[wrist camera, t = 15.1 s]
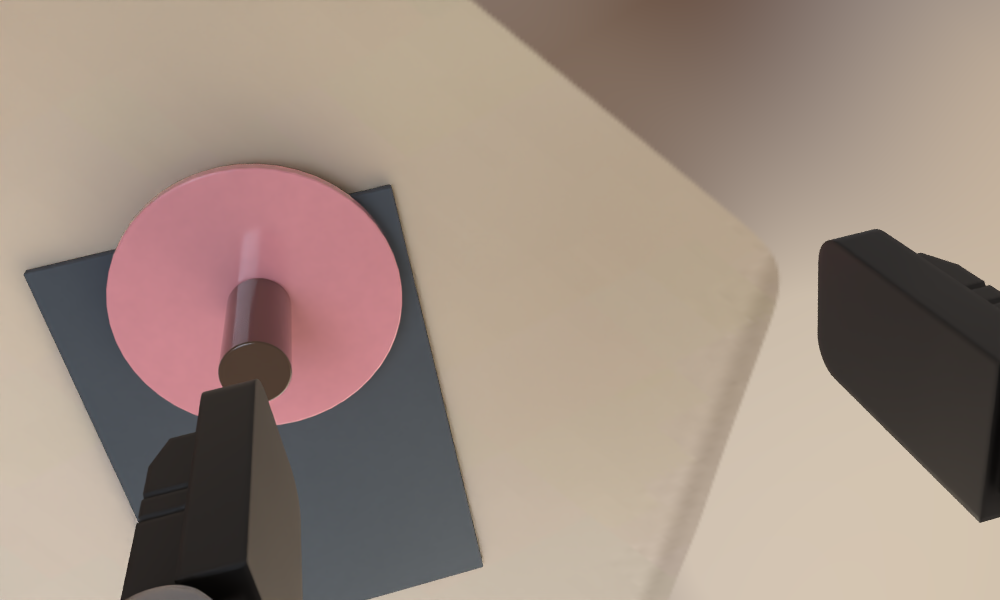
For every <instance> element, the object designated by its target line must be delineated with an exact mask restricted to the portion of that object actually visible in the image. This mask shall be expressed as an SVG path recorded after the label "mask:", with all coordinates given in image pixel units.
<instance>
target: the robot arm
mask: <svg viewBox="0 0 1000 600" xmlns="http://www.w3.org/2000/svg"><path fill="white" fill-rule="evenodd" d="M818 343H819V348H820V352H821V355H822V358H823V360H824V363H825V365H826V367H827V369H828V371H829V372H830V373H831V375H832V376H833V377H834V378H835V379H836V380H837V381H838V382H839V383H840V384H841V385H842V386H843V387H844V388H845V389H846V390H847V391H848V392H849V393H850V394H851V395H852V396H853V397H854V398H855V399H856V400H857V401H858V402H859V403H860V404H861V405H862V406H863V407H864V408H865V409H866V410H867V411H868V412H869V413H870V414H871V415H872V416H873V417H874V418H875V419H876V420H877V421H878V422H879V423H880V424H881V425H882V426H883V427H884V428H885V429H886V430H887V431H888V432H889V433H890V434H891V435H892V436H893V437H894V438H895V439H896V440H897V441H898V442H899V443H900V444H901V445H902V446H903V447H904V448H905V449H906V450H907V451H908V452H909V453H910V454H911V455H912V456H913V457H914V458H915V459H916V460H917V461H918V462H919V463H920V464H921V465H922V466H923V467H924V468H925V469H926V470H927V471H928V472H930V474H932V476H933V477H934V478H935V479H936V480H937V481H938V482H939V483H940V484H941V485H942V486H943V487H944V488H946V490H947V491H949V492H950V493H951V495H953V497H955V499H957V500H958V501H959V502H960V503H961V504H962V505H963V506H964V507H965V508H966V509H967V510H968V511H969V512H970V513H971V514H972V515H973V516H974V517H975V518H976V519H977V520H978V521H979V522H980V523H981V522H984V521H988V520H991V519H995V518H998V517H1000V291H998V290H997V289H995V288H994V287H992V286H990V285H988V286H986V285H985V283H984V281H983V280H981V279H980V278H978V277H976V276H975V275H973V274H972V273H970V272H968V271H967V270H966V269H964V268H962V267H961V266H959V265H958V264H954V263H951V262H948V261H945V260H942V259H939V258H936V257H933V256H930V255H926V254H923V253H918V254H917V253H915V252H914V251H912V250H911V249H909V248H908V247H906V246H905V245H903V244H902V243H900V242H899V241H897V240H896V239H894V238H893V237H891V236H890V235H888V234H887V233H885V232H884V231H882V230H878V229H874V230H869V231H865V232H861V233H857V234H853V235H849V236H845V237H841V238H837V239H833V240H829V241H826V242H825V243H824V244H823V245H822V247H821V249H820V253H819V262H818ZM143 497H144V499H143V500H141V505H140V510H139V515H138V519H139V523H137V524H136V529H135V534H134V539H133V543H132V548H131V553H130V558H129V562H128V567H127V572H126V577H125V581H124V586H123V591H122V596H121V600H303V591H302V553H301V517H300V506H299V499H298V493H297V489H296V484H295V480H294V476H293V473H292V469H291V466H290V463H289V460H288V457H287V455H286V452H285V449H284V446H283V443H282V440H281V437H280V434H279V431H278V428H277V425H276V422H275V419H274V416H273V413H272V410H271V407H270V404H269V401H268V398H267V396H266V393H265V390H264V388H263V386H262V384H261V382H260V380H259V379H254V380H250V381H246V382H242V383H238V384H234V385H230V386H226V387H222V388H218V389H213V390H209V391H205V392H203V393H202V395H201V399H200V406H199V413H198V420H197V427H196V432H193V433H189V434H185V435H181V436H177V437H173V438H170V439H169V440H168V441H167V443H166V444H165V445H164V447H163V448H162V449H161V451H160V452H159V453H158V455H157V456H156V457H155V459H154V460H153V461H152V463H151V464H150V465H149V467H148V472H147V477H146V481H145V486H144V491H143Z"/></svg>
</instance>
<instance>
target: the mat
mask: <svg viewBox="0 0 1000 600" xmlns="http://www.w3.org/2000/svg"><path fill="white" fill-rule="evenodd" d="M348 195H350V196H351V197H352V198H353V199H354V200H356V201H357V202H358V203H359V204H360V205H361V206H363V207H364V208H365V210H366V211H367V212H368V213H369V214H370V215H371V216H372V217H373V218H374V220H375V221H376V222H377V224H378V225H379V227H380V228H381V230H382V231H383V233H384V234H385V236H386V238H387V240H388V242H389V244H390V246H391V248H392V250H393V253H394V256H395V259H396V262H397V265H398V269H399V273H400V279H401V285H402V311H401V319H400V323H399V327H398V331H397V334H396V337H395V340H394V342H393V344H392V347H391V349H390V351H389V353H388V354H387V356H386V358H385V359H384V361H383V363H382V365H381V366H380V367H379V368H378V370H377V371H376V372H375V373H374V375H373V376H372V377H371V378H370V379H369V380H368V381H367V382H366V383H365V384H364V385H363V386H362V387H361V388H360V389H359V390H358V391H356V392H355V393H354V394H353V395H351V396H350V397H349V398H347V399H346V400H344V401H343V402H341V403H339V404H338V405H336V406H334V407H333V408H331V409H329V410H327V411H324V412H322V413H320V414H318V415H315V416H312V417H309V418H306V419H303V420H300V421H296V422H291V423H286V424H281V425H277V428H278V431H279V434H280V437H281V440H282V443H283V446H284V449H285V452H286V455H287V457H288V460H289V463H290V466H291V469H292V473H293V476H294V480H295V484H296V489H297V493H298V499H299V506H300V517H301V553H302V591H303V600H368V599H371V598H375V597H378V596H382V595H385V594H389V593H393V592H396V591H400V590H403V589H407V588H410V587H414V586H417V585H421V584H424V583H428V582H431V581H435V580H438V579H442V578H445V577H449V576H453V575H456V574H460V573H463V572H467V571H470V570H474V569H477V568H481V567H483V563H482V559H481V555H480V551H479V547H478V543H477V539H476V535H475V530H474V526H473V522H472V518H471V514H470V510H469V506H468V501H467V497H466V493H465V489H464V485H463V481H462V477H461V473H460V468H459V464H458V460H457V456H456V452H455V448H454V444H453V440H452V435H451V431H450V427H449V423H448V419H447V415H446V411H445V406H444V402H443V398H442V394H441V390H440V386H439V382H438V378H437V373H436V369H435V365H434V361H433V357H432V353H431V349H430V345H429V340H428V336H427V332H426V328H425V324H424V320H423V316H422V311H421V307H420V303H419V299H418V295H417V291H416V287H415V283H414V278H413V274H412V270H411V266H410V262H409V258H408V254H407V250H406V245H405V241H404V237H403V233H402V229H401V225H400V221H399V217H398V212H397V208H396V204H395V200H394V196H393V192H392V188H391V185H386V186H382V187H377V188H373V189H369V190H365V191H360V192H356V193H352V194H348ZM115 250H116V249H115ZM115 250H110V251H106V252H102V253H98V254H93V255H89V256H85V257H81V258H76V259H72V260H68V261H64V262H60V263H55V264H51V265H47V266H43V267H38V268H34V269H30V270H26V272H25V273H24V276H25V278H26V281H27V283H28V285H29V287H30V289H31V291H32V294H33V296H34V298H35V300H36V302H37V304H38V306H39V309H40V311H41V313H42V315H43V317H44V319H45V322H46V324H47V326H48V328H49V330H50V332H51V334H52V337H53V339H54V341H55V343H56V345H57V347H58V350H59V352H60V354H61V356H62V358H63V360H64V362H65V365H66V367H67V369H68V371H69V373H70V375H71V378H72V380H73V382H74V384H75V386H76V388H77V391H78V393H79V395H80V397H81V399H82V401H83V403H84V406H85V408H86V410H87V412H88V414H89V416H90V419H91V421H92V423H93V425H94V427H95V429H96V431H97V434H98V436H99V438H100V440H101V442H102V444H103V447H104V449H105V451H106V453H107V455H108V457H109V459H110V462H111V464H112V466H113V468H114V470H115V472H116V475H117V477H118V479H119V481H120V483H121V485H122V487H123V490H124V492H125V494H126V496H127V498H128V500H129V503H130V505H131V507H132V509H133V511H134V513H135V516H136V518H137V520H138V522H139V519H138V515H139V510H140V505H141V500H143V499H144V497H143V491H144V486H145V481H146V477H147V472H148V467H149V465H150V464H151V463H152V461H153V460H154V459H155V457H156V456H157V455H158V453H159V452H160V451H161V449H162V448H163V447H164V445H165V444H166V443H167V441H168V440H169V439H170V438H173V437H177V436H181V435H185V434H189V433H193V432H196V427H197V420H198V416H197V415H194V414H191V413H189V412H187V411H185V410H183V409H181V408H179V407H177V406H175V405H173V404H172V403H170V402H169V401H167V400H166V399H164V398H163V397H161V396H160V395H158V394H157V393H156V392H155V391H154V390H152V389H151V388H150V387H149V386H148V385H146V384H145V383H144V381H143V380H142V379H141V378H140V377H139V376H138V375H137V374H136V373H135V372H134V371H133V369H132V368H131V366H130V365H129V364H128V362H127V361H126V359H125V358H124V356H123V355H122V353H121V351H120V349H119V347H118V345H117V343H116V341H115V338H114V335H113V332H112V329H111V327H110V323H109V318H108V312H107V307H106V286H107V278H108V271H109V268H110V264H111V261H112V258H113V254H114V252H115Z"/></svg>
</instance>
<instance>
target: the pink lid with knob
mask: <svg viewBox="0 0 1000 600" xmlns="http://www.w3.org/2000/svg"><path fill="white" fill-rule="evenodd" d="M106 307H107V312H108V318H109V323H110V327H111V329H112V332H113V335H114V338H115V341H116V343H117V345H118V347H119V349H120V351H121V353H122V355H123V356H124V358H125V359H126V361H127V362H128V364H129V365H130V366H131V368H132V369H133V371H134V372H135V373H136V374H137V375H138V376H139V377H140V378H141V379H142V380H143V381H144V383H145V384H146V385H148V386H149V387H150V388H151V389H152V390H154V391H155V392H156V393H157V394H158V395H160V396H161V397H163V398H164V399H166V400H167V401H169V402H170V403H172V404H173V405H175V406H177V407H179V408H181V409H183V410H185V411H187V412H189V413H191V414H194V415H197V416H198V413H199V406H200V399H201V395H202V393H203V392H205V391H209V390H213V389H218V388H222V387H226V386H230V385H234V384H238V383H242V382H246V381H250V380H254V379H259V380H260V382H261V384H262V386H263V388H264V390H265V393H266V396H267V398H268V401H269V404H270V407H271V410H272V413H273V416H274V419H275V422H276V425H281V424H286V423H291V422H296V421H300V420H303V419H306V418H309V417H312V416H315V415H318V414H320V413H322V412H324V411H327V410H329V409H331V408H333V407H334V406H336V405H338V404H339V403H341V402H343V401H344V400H346V399H347V398H349V397H350V396H351V395H353V394H354V393H355V392H356V391H358V390H359V389H360V388H361V387H362V386H363V385H364V384H365V383H366V382H367V381H368V380H369V379H370V378H371V377H372V376H373V375H374V373H375V372H376V371H377V370H378V368H379V367H380V366H381V365H382V363H383V361H384V359H385V358H386V356H387V354H388V353H389V351H390V349H391V347H392V344H393V342H394V340H395V337H396V334H397V331H398V327H399V323H400V319H401V311H402V285H401V279H400V273H399V269H398V265H397V262H396V259H395V256H394V253H393V250H392V248H391V246H390V244H389V242H388V240H387V238H386V236H385V234H384V233H383V231H382V230H381V228H380V227H379V225H378V224H377V222H376V221H375V220H374V218H373V217H372V216H371V215H370V214H369V213H368V212H367V211H366V210H365V208H364V207H363V206H361V205H360V204H359V203H358V202H357V201H356V200H354V199H353V198H352V197H351V196H350V195H348V194H347V193H345V192H344V191H342V190H341V189H339V188H338V187H336V186H335V185H333V184H331V183H329V182H327V181H325V180H323V179H321V178H319V177H317V176H314V175H311V174H308V173H306V172H303V171H300V170H297V169H292V168H287V167H282V166H278V165H267V164H235V165H229V166H223V167H217V168H213V169H210V170H206V171H203V172H199V173H196V174H194V175H192V176H189V177H187V178H185V179H183V180H180V181H178V182H176V183H175V184H173V185H171V186H170V187H168V188H167V189H165V190H163V191H162V192H160V193H159V194H158V195H157V196H155V197H154V198H153V199H152V200H151V201H149V202H148V203H147V204H146V205H145V206H144V207H143V208H142V209H141V210H140V211H139V213H138V214H137V215H136V216H135V217H134V218H133V219H132V221H131V222H130V224H129V225H128V227H127V228H126V230H125V231H124V233H123V235H122V237H121V239H120V241H119V243H118V245H117V247H116V250H115V252H114V254H113V258H112V261H111V264H110V268H109V271H108V278H107V286H106Z"/></svg>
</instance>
